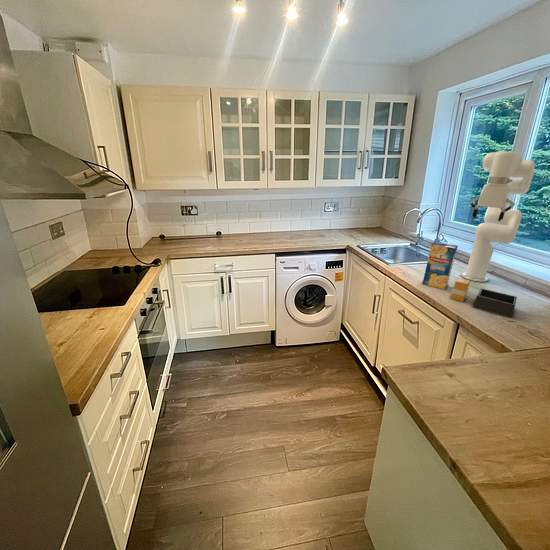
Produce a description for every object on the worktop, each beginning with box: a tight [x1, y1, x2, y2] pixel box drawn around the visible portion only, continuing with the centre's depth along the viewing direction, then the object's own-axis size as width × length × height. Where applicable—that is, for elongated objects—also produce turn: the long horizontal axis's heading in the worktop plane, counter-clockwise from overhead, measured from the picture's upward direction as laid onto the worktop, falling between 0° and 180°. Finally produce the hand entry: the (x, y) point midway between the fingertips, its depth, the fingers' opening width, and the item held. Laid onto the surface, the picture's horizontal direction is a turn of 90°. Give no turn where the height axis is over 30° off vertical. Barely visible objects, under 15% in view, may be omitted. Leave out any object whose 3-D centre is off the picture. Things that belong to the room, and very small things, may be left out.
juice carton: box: [450, 278, 471, 302], centre depth 137 cm, size 6×5×9 cm
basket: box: [473, 287, 518, 318], centre depth 129 cm, size 14×12×6 cm
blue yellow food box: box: [422, 241, 459, 290], centre depth 150 cm, size 7×11×22 cm, turn 51°
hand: (486, 219), depth 135 cm, fingers open, 9 cm apart
